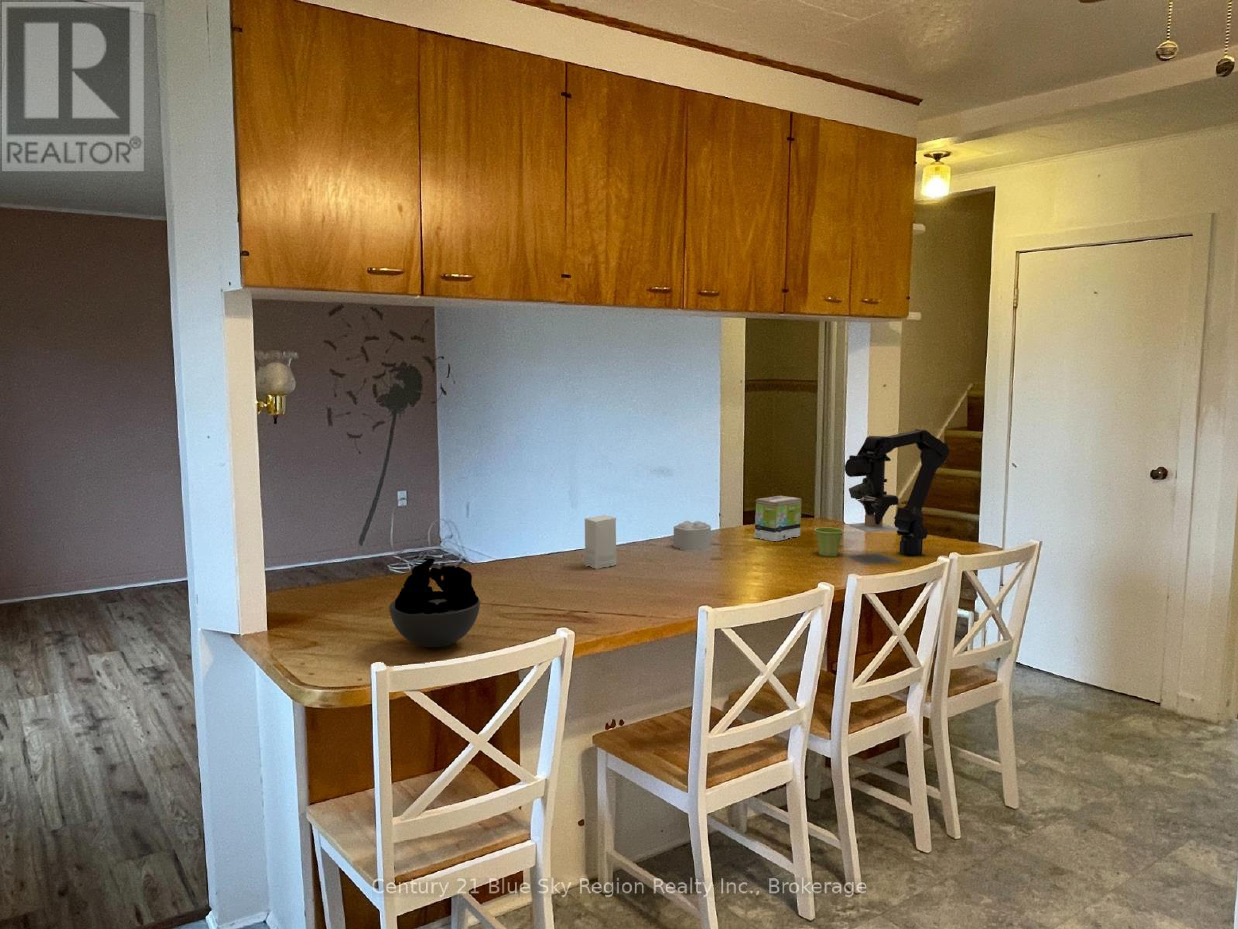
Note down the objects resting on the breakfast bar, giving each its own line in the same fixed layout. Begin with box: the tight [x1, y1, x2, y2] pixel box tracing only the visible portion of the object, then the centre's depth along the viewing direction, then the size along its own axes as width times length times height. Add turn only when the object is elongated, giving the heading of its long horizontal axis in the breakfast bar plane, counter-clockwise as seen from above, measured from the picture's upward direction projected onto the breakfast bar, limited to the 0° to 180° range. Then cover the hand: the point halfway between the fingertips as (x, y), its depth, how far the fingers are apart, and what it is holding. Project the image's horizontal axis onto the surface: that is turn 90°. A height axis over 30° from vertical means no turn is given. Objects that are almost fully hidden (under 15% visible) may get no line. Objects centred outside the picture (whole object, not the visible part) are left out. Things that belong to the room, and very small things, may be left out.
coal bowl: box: [388, 558, 481, 648], centre depth 198 cm, size 20×20×19 cm
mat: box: [845, 552, 903, 565], centre depth 285 cm, size 13×13×1 cm
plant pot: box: [814, 526, 844, 557], centre depth 292 cm, size 9×9×9 cm
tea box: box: [754, 495, 802, 542], centre depth 322 cm, size 15×10×15 cm
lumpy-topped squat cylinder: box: [673, 520, 712, 551], centre depth 307 cm, size 10×13×9 cm
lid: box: [848, 513, 898, 533], centre depth 284 cm, size 11×11×4 cm
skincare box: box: [584, 514, 617, 569], centre depth 277 cm, size 8×7×16 cm
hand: (873, 523), depth 284 cm, fingers closed on lid, 4 cm apart
